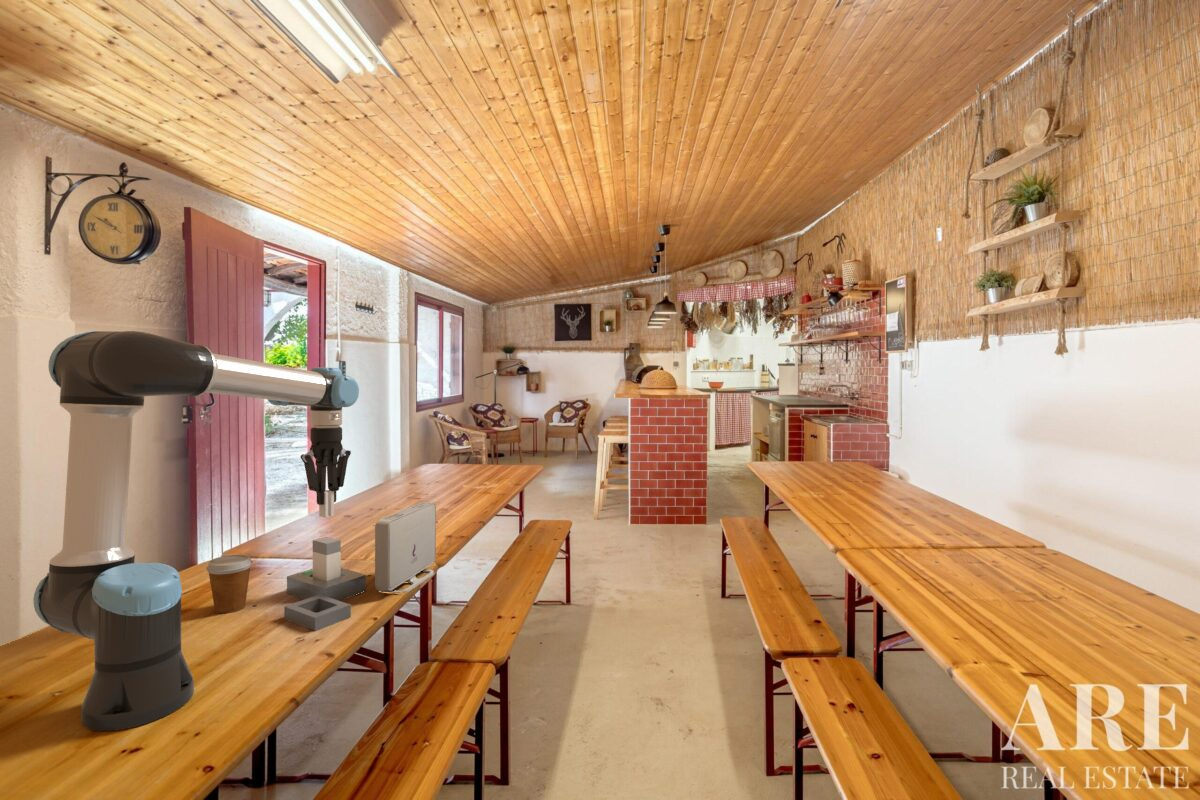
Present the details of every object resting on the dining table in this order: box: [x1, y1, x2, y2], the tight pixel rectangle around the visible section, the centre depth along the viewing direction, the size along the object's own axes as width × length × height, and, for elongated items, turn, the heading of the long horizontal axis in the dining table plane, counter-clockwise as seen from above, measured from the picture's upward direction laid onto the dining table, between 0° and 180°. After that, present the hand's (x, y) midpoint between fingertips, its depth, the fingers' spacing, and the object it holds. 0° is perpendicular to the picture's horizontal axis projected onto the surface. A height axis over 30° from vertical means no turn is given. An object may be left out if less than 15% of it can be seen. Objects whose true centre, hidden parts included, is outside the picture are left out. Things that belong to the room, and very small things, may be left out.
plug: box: [312, 536, 342, 581], centre depth 152 cm, size 4×6×14 cm, turn 59°
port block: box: [286, 567, 367, 601], centre depth 152 cm, size 12×16×5 cm
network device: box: [374, 501, 437, 594], centre depth 161 cm, size 26×9×20 cm, turn 168°
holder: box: [283, 594, 352, 632], centre depth 136 cm, size 9×12×3 cm
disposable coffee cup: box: [205, 553, 253, 614], centre depth 141 cm, size 10×10×12 cm
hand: (326, 515), depth 151 cm, fingers closed
